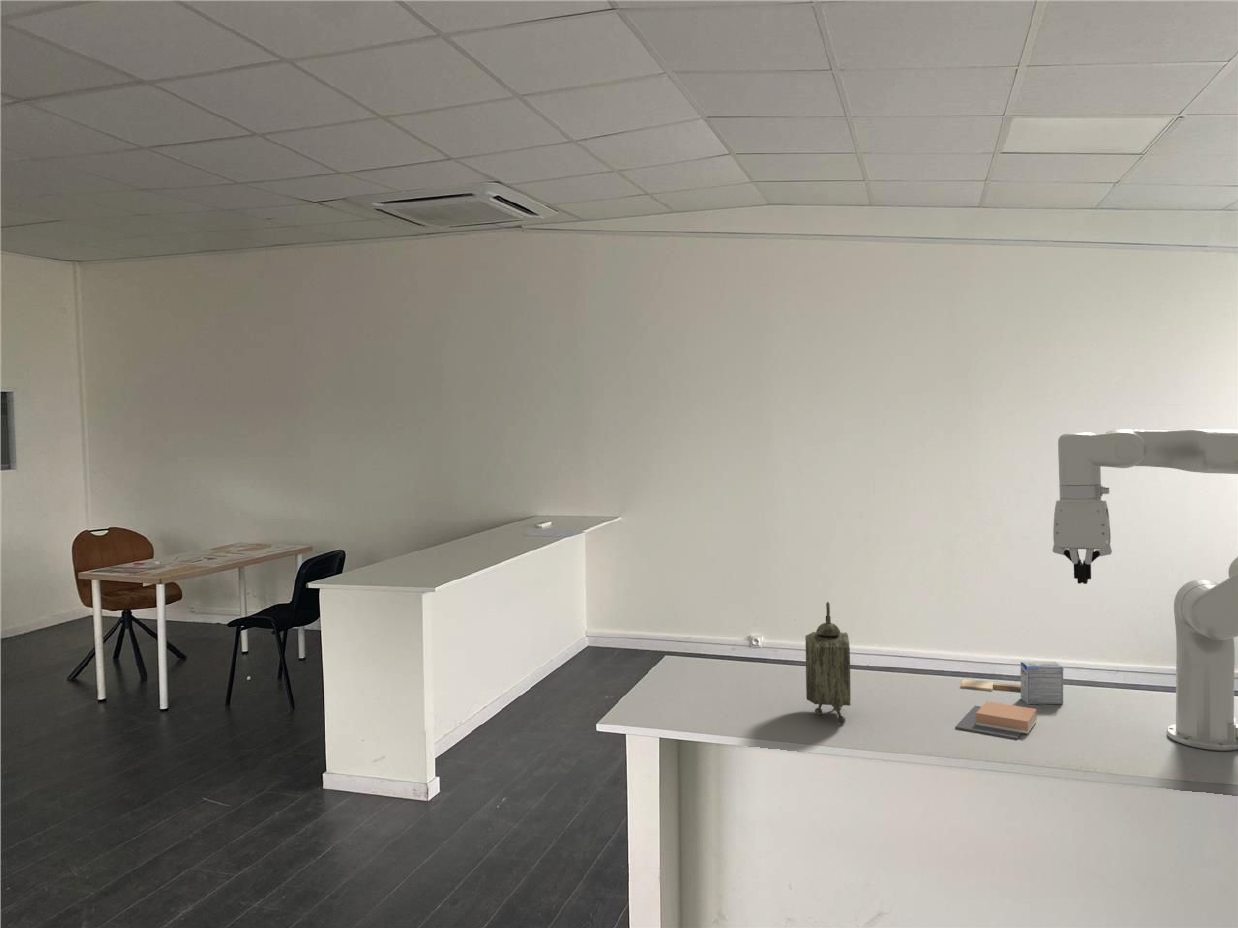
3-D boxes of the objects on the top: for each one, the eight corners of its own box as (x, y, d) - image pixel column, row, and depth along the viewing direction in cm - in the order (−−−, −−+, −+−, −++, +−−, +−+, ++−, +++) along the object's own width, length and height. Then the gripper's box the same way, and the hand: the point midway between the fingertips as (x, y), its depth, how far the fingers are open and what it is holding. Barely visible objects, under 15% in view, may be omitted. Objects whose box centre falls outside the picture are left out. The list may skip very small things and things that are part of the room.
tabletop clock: (850, 727, 185) (849, 610, 184) (807, 725, 187) (805, 609, 185) (847, 705, 199) (845, 596, 198) (806, 703, 201) (804, 595, 200)
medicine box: (1056, 698, 200) (1056, 661, 200) (1063, 704, 196) (1063, 666, 196) (1020, 698, 201) (1020, 661, 201) (1027, 704, 197) (1027, 666, 196)
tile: (1036, 709, 185) (986, 701, 191) (1027, 721, 178) (976, 712, 183) (1036, 720, 185) (986, 712, 191) (1027, 733, 178) (976, 724, 184)
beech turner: (1039, 688, 207) (1039, 684, 207) (1039, 695, 202) (1039, 691, 202) (962, 681, 215) (962, 677, 215) (960, 688, 210) (960, 683, 210)
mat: (1033, 716, 189) (1033, 714, 189) (1017, 739, 176) (1017, 737, 176) (974, 707, 196) (974, 705, 196) (955, 728, 183) (955, 726, 183)
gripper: (1123, 491, 178) (1126, 581, 178) (1042, 491, 186) (1045, 577, 187) (1120, 494, 171) (1123, 588, 172) (1037, 494, 180) (1039, 583, 180)
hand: (1082, 582), depth 179 cm, fingers closed
